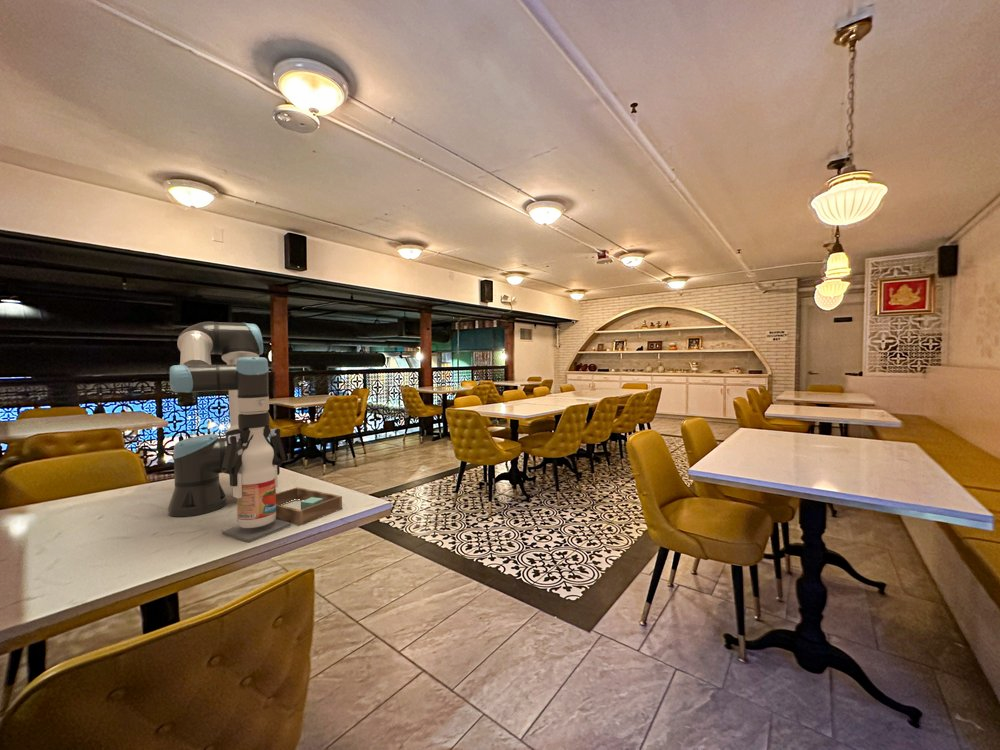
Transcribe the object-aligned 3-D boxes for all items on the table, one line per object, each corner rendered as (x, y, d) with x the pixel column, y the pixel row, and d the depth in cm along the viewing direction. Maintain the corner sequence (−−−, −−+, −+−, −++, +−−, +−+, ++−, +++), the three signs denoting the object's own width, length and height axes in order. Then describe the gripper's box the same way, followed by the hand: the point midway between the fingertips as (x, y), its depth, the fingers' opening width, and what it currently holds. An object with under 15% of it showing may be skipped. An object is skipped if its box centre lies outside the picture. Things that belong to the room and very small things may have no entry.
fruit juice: (240, 519, 116) (237, 422, 115) (277, 513, 120) (275, 419, 119) (234, 531, 107) (231, 426, 106) (275, 525, 111) (272, 424, 110)
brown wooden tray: (254, 513, 127) (253, 500, 126) (297, 498, 140) (297, 487, 140) (300, 525, 116) (299, 511, 116) (342, 508, 130) (341, 496, 130)
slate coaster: (222, 534, 111) (222, 531, 111) (265, 519, 122) (265, 516, 122) (248, 542, 105) (248, 539, 105) (290, 526, 116) (290, 523, 116)
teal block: (301, 516, 124) (300, 501, 124) (312, 511, 128) (311, 497, 128) (312, 517, 122) (312, 503, 122) (323, 512, 127) (323, 498, 126)
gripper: (218, 418, 101) (221, 506, 102) (298, 408, 121) (300, 483, 121) (202, 416, 105) (205, 502, 105) (282, 407, 124) (284, 479, 125)
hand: (256, 491), depth 113 cm, fingers closed on fruit juice, 9 cm apart
